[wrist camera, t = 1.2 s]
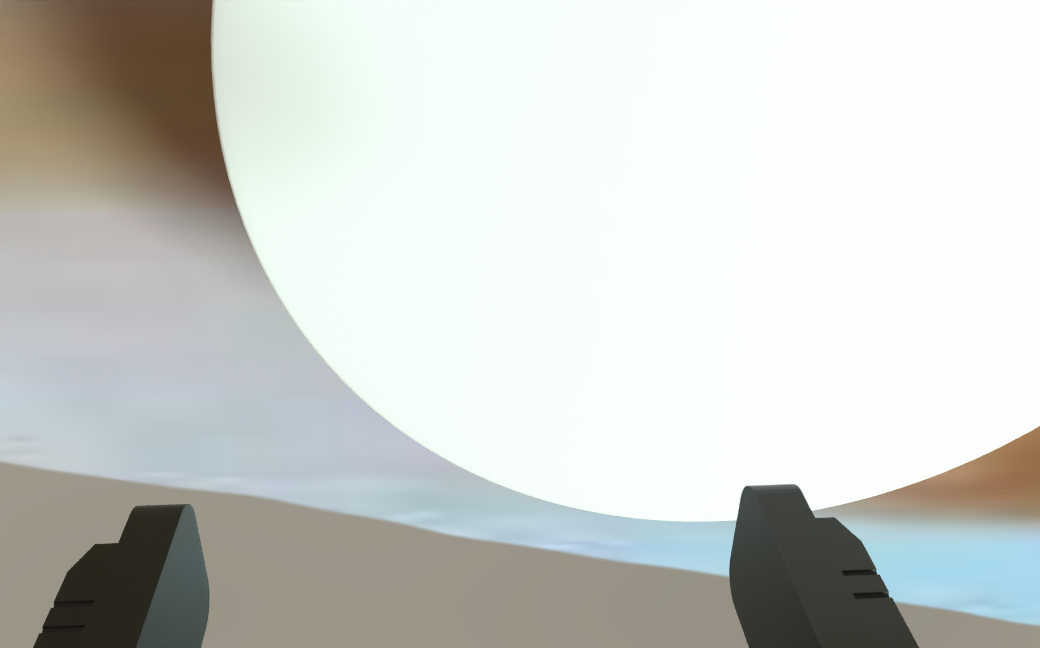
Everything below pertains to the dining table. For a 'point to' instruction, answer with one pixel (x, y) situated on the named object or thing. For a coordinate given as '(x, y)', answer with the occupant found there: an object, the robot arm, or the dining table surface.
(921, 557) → the dining table surface
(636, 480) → the plate stack
